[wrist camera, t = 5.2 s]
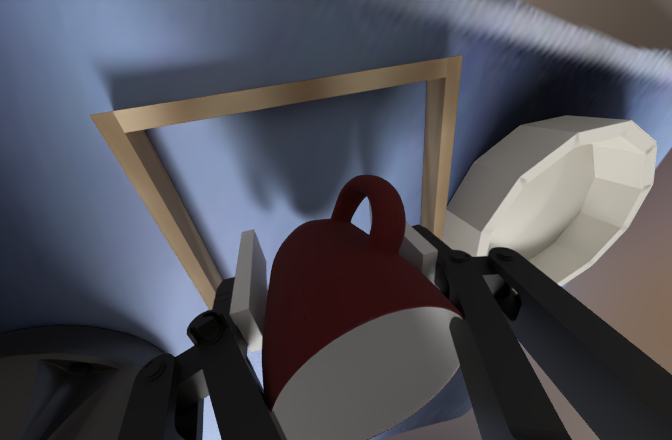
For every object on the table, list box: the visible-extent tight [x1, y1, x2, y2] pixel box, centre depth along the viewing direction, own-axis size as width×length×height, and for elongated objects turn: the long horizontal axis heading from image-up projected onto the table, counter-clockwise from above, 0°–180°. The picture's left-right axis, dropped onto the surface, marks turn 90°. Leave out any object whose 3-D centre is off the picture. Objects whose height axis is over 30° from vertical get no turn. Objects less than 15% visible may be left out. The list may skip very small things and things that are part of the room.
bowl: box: [443, 115, 657, 293], centre depth 22 cm, size 17×17×4 cm
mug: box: [262, 175, 463, 440], centre depth 12 cm, size 11×8×10 cm
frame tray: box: [90, 55, 463, 310], centre depth 18 cm, size 20×18×2 cm
